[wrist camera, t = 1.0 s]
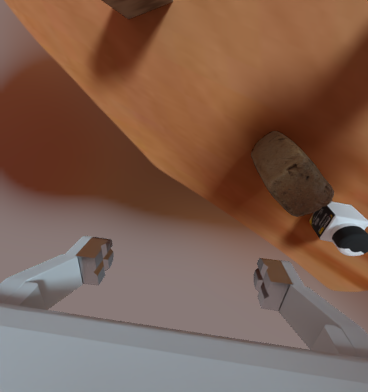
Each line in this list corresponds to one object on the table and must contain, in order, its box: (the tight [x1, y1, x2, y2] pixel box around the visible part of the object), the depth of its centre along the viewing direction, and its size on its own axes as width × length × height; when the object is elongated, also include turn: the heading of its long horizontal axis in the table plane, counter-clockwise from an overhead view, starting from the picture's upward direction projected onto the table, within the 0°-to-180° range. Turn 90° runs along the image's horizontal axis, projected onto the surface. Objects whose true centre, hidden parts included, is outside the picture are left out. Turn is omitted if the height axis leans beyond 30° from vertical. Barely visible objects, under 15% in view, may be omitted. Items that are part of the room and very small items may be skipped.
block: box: [251, 131, 334, 217], centre depth 35 cm, size 11×8×20 cm
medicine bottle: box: [309, 202, 368, 256], centre depth 43 cm, size 7×7×12 cm
